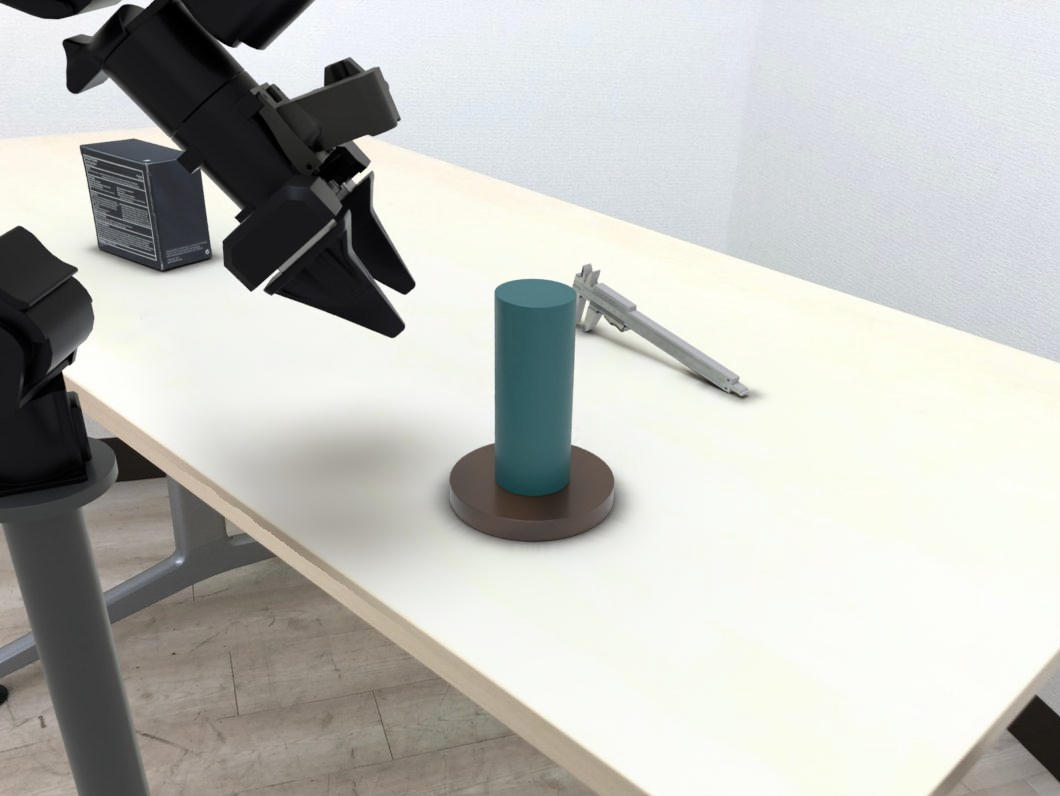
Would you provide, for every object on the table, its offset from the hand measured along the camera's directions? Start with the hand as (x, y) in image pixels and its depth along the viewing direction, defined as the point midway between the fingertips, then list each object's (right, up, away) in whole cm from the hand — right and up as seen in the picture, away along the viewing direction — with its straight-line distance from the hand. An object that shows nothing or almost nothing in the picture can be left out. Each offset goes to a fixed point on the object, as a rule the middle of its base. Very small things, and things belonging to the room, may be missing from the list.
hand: (405, 310), depth 65 cm
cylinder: (+7, -10, +5) cm, 14 cm away
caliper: (+16, 0, +27) cm, 32 cm away
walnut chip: (+7, -12, +6) cm, 15 cm away
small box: (-35, +13, +42) cm, 56 cm away
